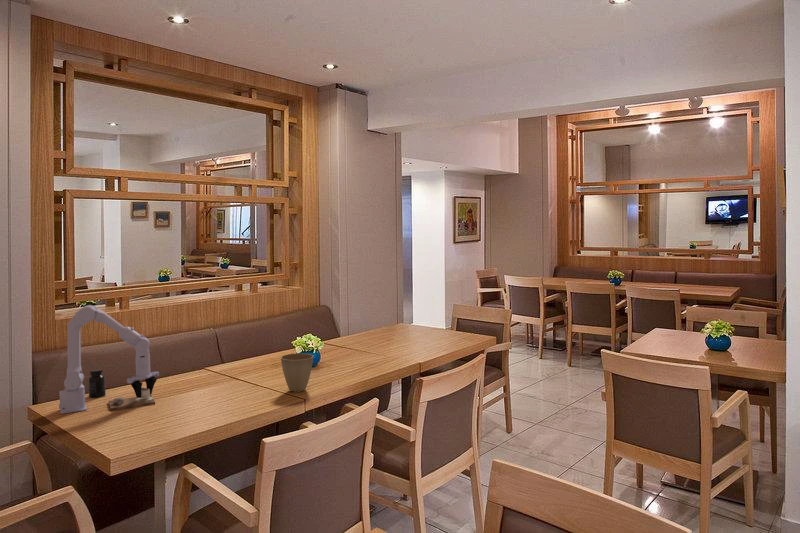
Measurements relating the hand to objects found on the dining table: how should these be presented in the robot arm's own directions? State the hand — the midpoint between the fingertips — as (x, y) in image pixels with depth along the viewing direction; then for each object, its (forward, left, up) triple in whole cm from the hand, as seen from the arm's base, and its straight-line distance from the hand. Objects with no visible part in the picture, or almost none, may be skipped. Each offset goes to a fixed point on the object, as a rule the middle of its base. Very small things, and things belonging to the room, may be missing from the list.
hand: (144, 395), depth 244 cm
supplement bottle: (-17, +22, -3) cm, 28 cm away
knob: (0, 0, 0) cm, 0 cm away
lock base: (-5, 0, -3) cm, 6 cm away
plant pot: (+63, -21, -3) cm, 67 cm away
